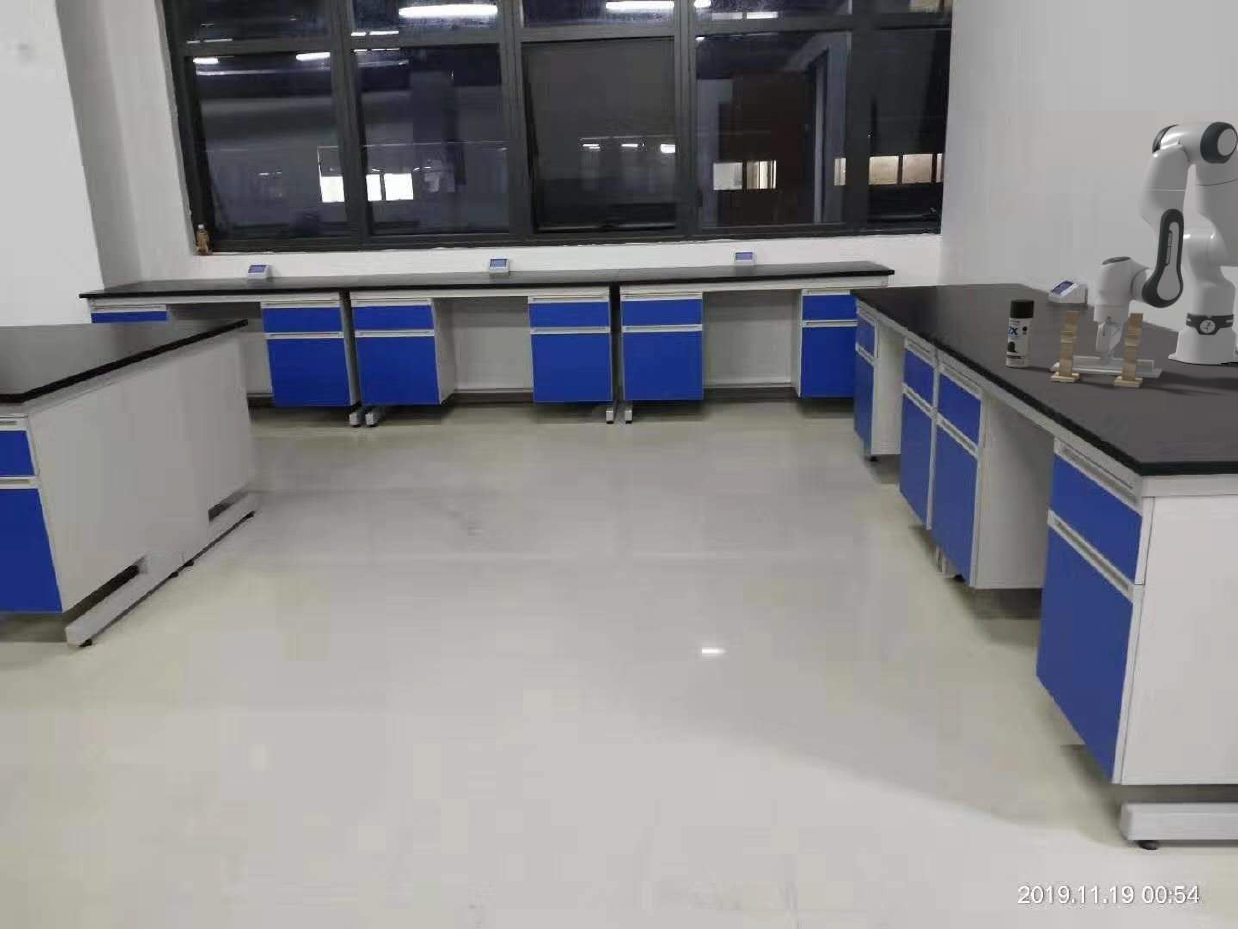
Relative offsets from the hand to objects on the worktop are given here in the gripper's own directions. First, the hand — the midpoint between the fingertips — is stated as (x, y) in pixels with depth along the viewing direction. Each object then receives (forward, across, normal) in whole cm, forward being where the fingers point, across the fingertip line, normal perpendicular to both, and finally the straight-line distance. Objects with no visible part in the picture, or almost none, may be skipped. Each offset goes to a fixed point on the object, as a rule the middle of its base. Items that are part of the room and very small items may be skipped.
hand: (1106, 362), depth 276 cm
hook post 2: (+3, -16, -8) cm, 18 cm away
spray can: (+3, -1, +24) cm, 24 cm away
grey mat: (+3, 0, 0) cm, 3 cm away
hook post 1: (+3, -16, +8) cm, 18 cm away
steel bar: (+2, 0, 0) cm, 2 cm away
